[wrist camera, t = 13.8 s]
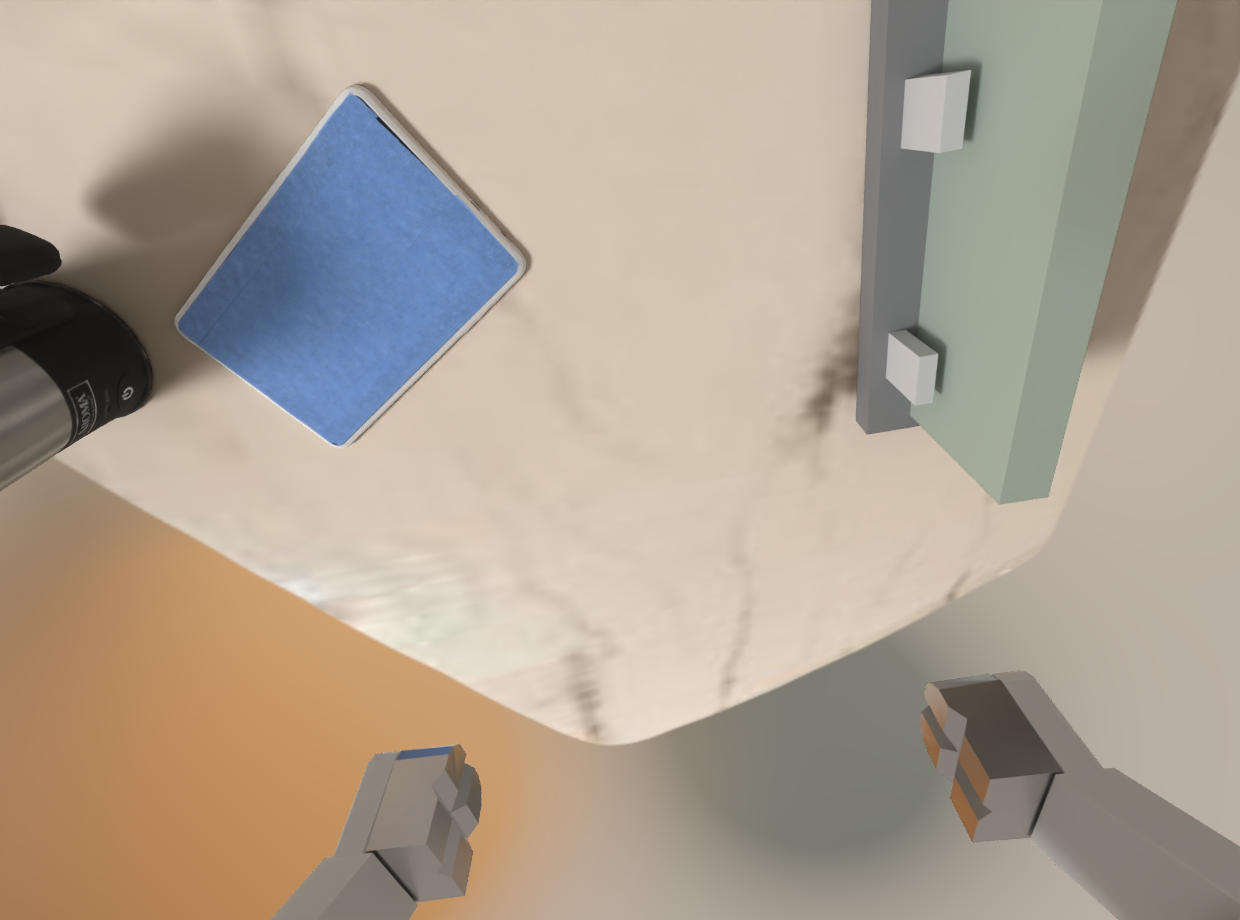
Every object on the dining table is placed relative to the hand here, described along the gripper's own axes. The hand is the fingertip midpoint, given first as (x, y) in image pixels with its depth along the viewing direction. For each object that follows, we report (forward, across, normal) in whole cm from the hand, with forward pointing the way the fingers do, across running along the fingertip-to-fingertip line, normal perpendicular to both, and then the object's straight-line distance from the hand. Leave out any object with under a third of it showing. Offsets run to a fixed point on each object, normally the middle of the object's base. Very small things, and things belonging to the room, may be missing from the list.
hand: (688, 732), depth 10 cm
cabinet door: (+27, -18, 0) cm, 32 cm away
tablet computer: (+30, +17, -3) cm, 35 cm away
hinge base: (+29, -18, 0) cm, 34 cm away
